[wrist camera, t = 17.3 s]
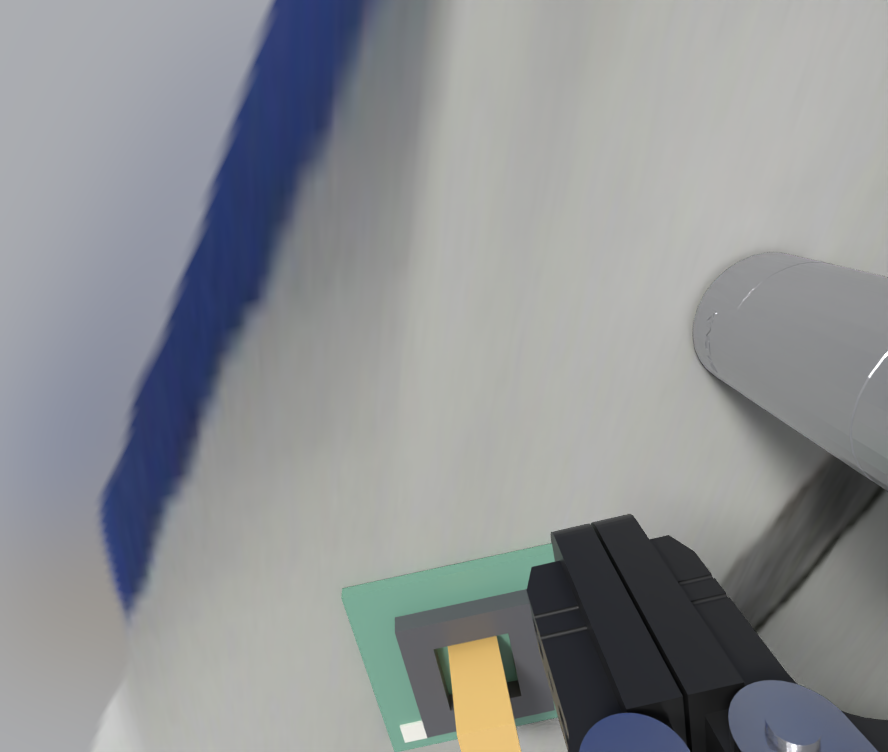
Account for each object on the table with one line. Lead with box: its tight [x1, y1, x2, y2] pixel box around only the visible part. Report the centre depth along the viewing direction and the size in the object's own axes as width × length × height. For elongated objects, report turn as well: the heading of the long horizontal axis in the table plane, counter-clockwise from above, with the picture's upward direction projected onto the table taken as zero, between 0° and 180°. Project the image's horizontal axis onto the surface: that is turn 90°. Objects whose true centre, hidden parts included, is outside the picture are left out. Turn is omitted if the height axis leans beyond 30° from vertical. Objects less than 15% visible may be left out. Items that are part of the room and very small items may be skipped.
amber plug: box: [448, 636, 521, 752], centre depth 42 cm, size 4×5×8 cm
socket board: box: [341, 543, 558, 752], centre depth 46 cm, size 18×18×2 cm
